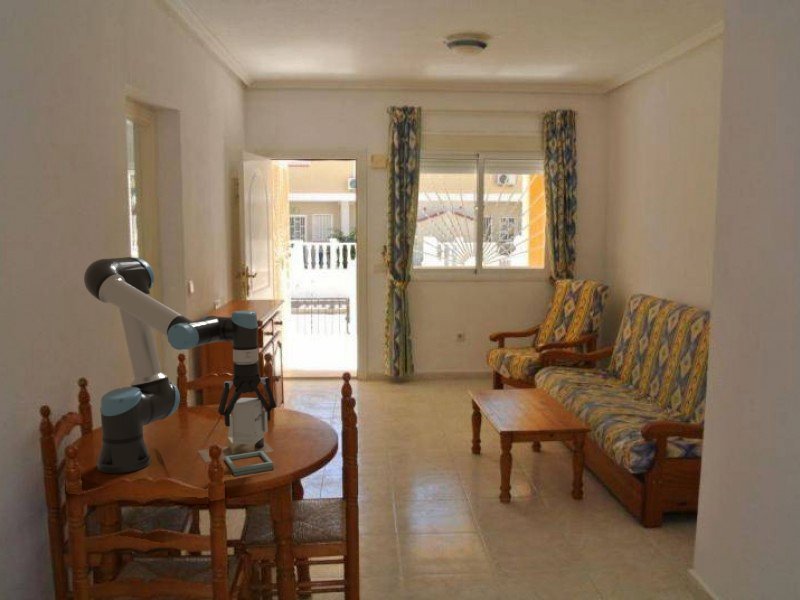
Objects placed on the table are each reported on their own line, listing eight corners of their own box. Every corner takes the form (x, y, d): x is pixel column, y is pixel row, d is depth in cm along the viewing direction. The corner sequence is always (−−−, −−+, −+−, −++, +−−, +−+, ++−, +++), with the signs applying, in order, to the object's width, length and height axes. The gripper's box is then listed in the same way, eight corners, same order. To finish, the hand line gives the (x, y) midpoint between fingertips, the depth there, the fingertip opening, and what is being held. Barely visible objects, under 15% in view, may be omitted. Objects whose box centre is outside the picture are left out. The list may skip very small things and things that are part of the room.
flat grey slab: (204, 466, 206) (204, 446, 205) (197, 455, 216) (196, 435, 216) (274, 455, 216) (273, 436, 215) (264, 445, 226) (263, 426, 226)
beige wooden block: (232, 453, 213) (232, 443, 213) (228, 447, 219) (227, 437, 219) (254, 450, 216) (254, 440, 216) (249, 444, 222) (248, 434, 222)
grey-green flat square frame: (233, 477, 197) (233, 468, 197) (224, 464, 208) (224, 456, 208) (273, 470, 203) (273, 462, 202) (262, 458, 213) (262, 450, 213)
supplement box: (255, 445, 200) (253, 404, 199) (232, 443, 202) (230, 403, 200) (264, 437, 207) (263, 397, 206) (242, 436, 209) (241, 396, 207)
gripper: (210, 368, 193) (213, 442, 196) (285, 360, 203) (287, 431, 206) (205, 363, 200) (208, 435, 202) (278, 356, 210) (280, 425, 213)
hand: (248, 433), depth 204 cm, fingers closed on supplement box, 10 cm apart
